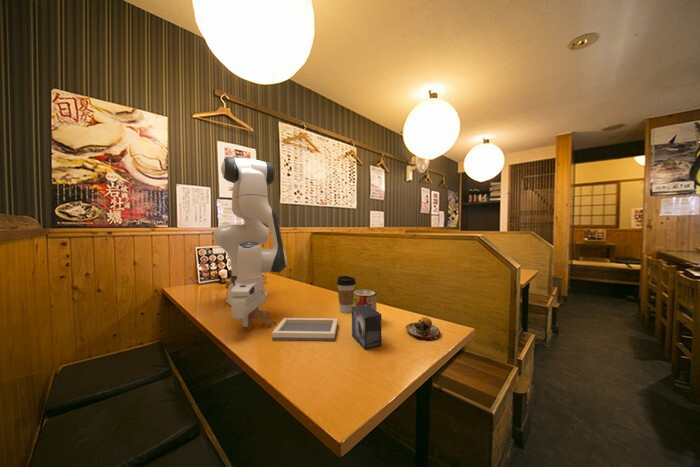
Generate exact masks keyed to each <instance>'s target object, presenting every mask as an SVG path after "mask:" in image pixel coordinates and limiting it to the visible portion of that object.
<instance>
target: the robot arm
mask: <svg viewBox="0 0 700 467" xmlns="http://www.w3.org/2000/svg"><path fill="white" fill-rule="evenodd" d="M220 170H221V171H220V172H221V174H222V177H223V179H224V180H225V181H227V182H230V183H233V185H232V193H231V194H232V195H231V212H232V214H233V215H234V216H235V217H238V218H240V219H242V220H243V224H242V223H241V224H240V223H239V224H224V225H219V226H217V227H216V229H214V232H213V236H212V237H213V241H214V243H215V244H216V245H217V246H218V247H220V248H221V249H223V250H224V251H225V252H226V253H227V255H228V257H229V259H230V267H231V270H230V271H231V274H230V284H229V285H228V295H227V299H226V300H225V303H227V304H228V305H229V306H231V316H232V318H233V319H234V320H240V321H241V320H242V321H241V322H242V327H244V328H246V327H247V326H248V325H249V320H248V315H249V314H250V313H251V312H252V311H254V310H260V307H261V305H262V304H264V303H265V302H266V298H267V297H268V295H269V294H268V292H267V291H266V288H265V285H264V282H263V279H264V278H263V273H278V274H279V273H281V272H282V271H284V270H285V269H286V267H287V265H288V256H287V254H286V251H285V247H284V241H283V237H282V232H281V227H280V222H279V217H278V214H277V212H276V210H275V209H273V208H272V207H271V205H270V203H269V195H268V194H269V192H268V186H270V185H271V184H273V183H274V181H275V179H276V168H275V166H274V165H273V163H271V162H269V161H263V160H258V159H254V158H246V157H234V156H226V157H225V158H224V159H223V161H222V163H221V167H220ZM268 228H269V229H268ZM270 236H271V240H272V241H271V242H272V247H270V248H262V247H261V245H265V244H267V242H268V241H269V240H270Z"/></svg>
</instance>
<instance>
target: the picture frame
mask: <svg viewBox="0 0 700 467" xmlns="http://www.w3.org/2000/svg"><path fill="white" fill-rule="evenodd" d="M338 326H339V320H338V318H332V317H331V318H330V317H329V318H326V317H325V318H321V317H319V318H318V317H317V318H316V317H313V318H312V317H310V318H309V317H307V318H306V317H305V318H304V317H300V318H299V317H283V319H282V320H281V321H280V322H279V323H278V324H277V326H276V327H275V328H274V329H273V331H272V332H271V340H272V341H302V342H303V341H304V342H306V341H307V342H308V341H309V342H310V341H314V342H315V341H317V342H335V339H336V335H337V330H338Z"/></svg>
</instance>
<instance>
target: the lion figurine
mask: <svg viewBox="0 0 700 467" xmlns="http://www.w3.org/2000/svg"><path fill="white" fill-rule="evenodd" d="M269 318H270V319H269ZM260 319H262V321H264V322H262V324H261V325H262V326H265V325H267V324H268V325H267V328H268V329H269V328H271V327H272V324H277V322H276V321H274V320H273V317H272V314H271V312H270V311H269V310H268V309H266V308H261V309H259V310H254V311H252V312H251V313H250V314H249V315H248V320H249V325H248V326H247V327H244V329H245V330H249V329H250V327H251V326H250V322H251V321H257V320H260ZM240 321H241V322H242V320H241V319H240Z"/></svg>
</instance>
